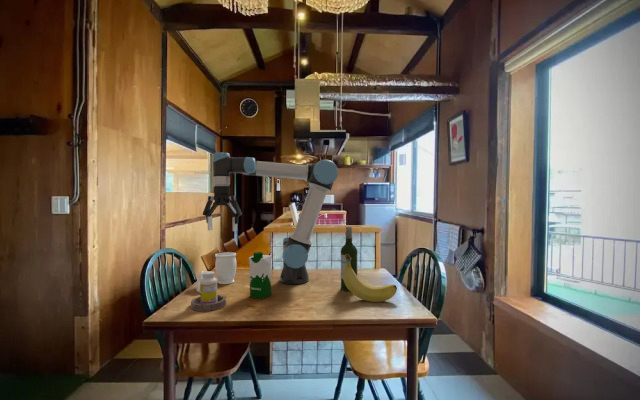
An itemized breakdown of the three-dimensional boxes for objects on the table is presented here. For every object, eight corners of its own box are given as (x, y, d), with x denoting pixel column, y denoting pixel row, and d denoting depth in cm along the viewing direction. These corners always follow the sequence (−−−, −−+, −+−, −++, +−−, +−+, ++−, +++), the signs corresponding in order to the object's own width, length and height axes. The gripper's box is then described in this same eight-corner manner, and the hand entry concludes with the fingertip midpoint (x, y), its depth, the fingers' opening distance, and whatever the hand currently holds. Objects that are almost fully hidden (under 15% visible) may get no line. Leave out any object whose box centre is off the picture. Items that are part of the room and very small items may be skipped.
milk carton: (247, 298, 142) (246, 253, 142) (257, 292, 151) (256, 249, 151) (264, 300, 140) (264, 254, 139) (274, 293, 148) (273, 250, 148)
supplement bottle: (203, 300, 137) (202, 270, 136) (219, 300, 137) (218, 270, 137) (198, 306, 130) (197, 274, 130) (215, 305, 130) (214, 274, 130)
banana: (396, 299, 139) (396, 253, 138) (397, 304, 133) (397, 256, 133) (343, 297, 142) (343, 252, 142) (342, 302, 136) (342, 255, 136)
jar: (239, 280, 173) (239, 252, 172) (232, 285, 162) (231, 255, 162) (220, 279, 174) (219, 251, 173) (212, 285, 163) (211, 255, 163)
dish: (233, 301, 138) (233, 295, 138) (212, 313, 125) (212, 306, 125) (205, 298, 142) (205, 293, 142) (183, 309, 129) (182, 303, 129)
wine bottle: (360, 289, 155) (360, 226, 154) (350, 292, 149) (350, 228, 148) (347, 285, 160) (347, 225, 159) (337, 289, 154) (337, 226, 154)
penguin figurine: (211, 269, 160) (206, 277, 148) (212, 285, 161) (207, 295, 149) (198, 269, 159) (192, 278, 148) (198, 286, 160) (192, 296, 149)
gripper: (249, 185, 152) (249, 230, 153) (204, 186, 160) (205, 228, 160) (240, 185, 145) (241, 232, 146) (194, 185, 153) (195, 230, 153)
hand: (222, 230), depth 153 cm, fingers open, 13 cm apart
